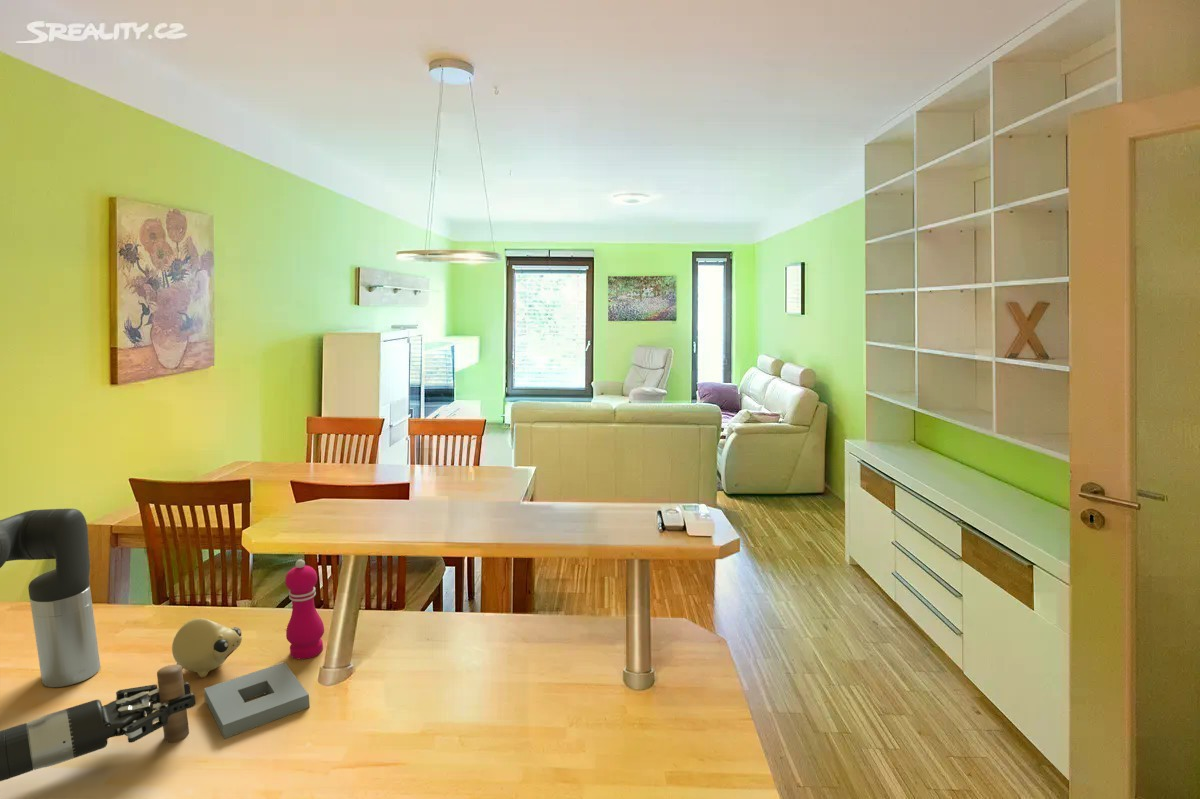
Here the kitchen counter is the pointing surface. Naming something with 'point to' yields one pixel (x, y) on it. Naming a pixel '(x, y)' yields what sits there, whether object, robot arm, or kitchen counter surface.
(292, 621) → the pepper mill
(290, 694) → the socket
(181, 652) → the beige animal figure
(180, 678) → the pin
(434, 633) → the kitchen counter surface
